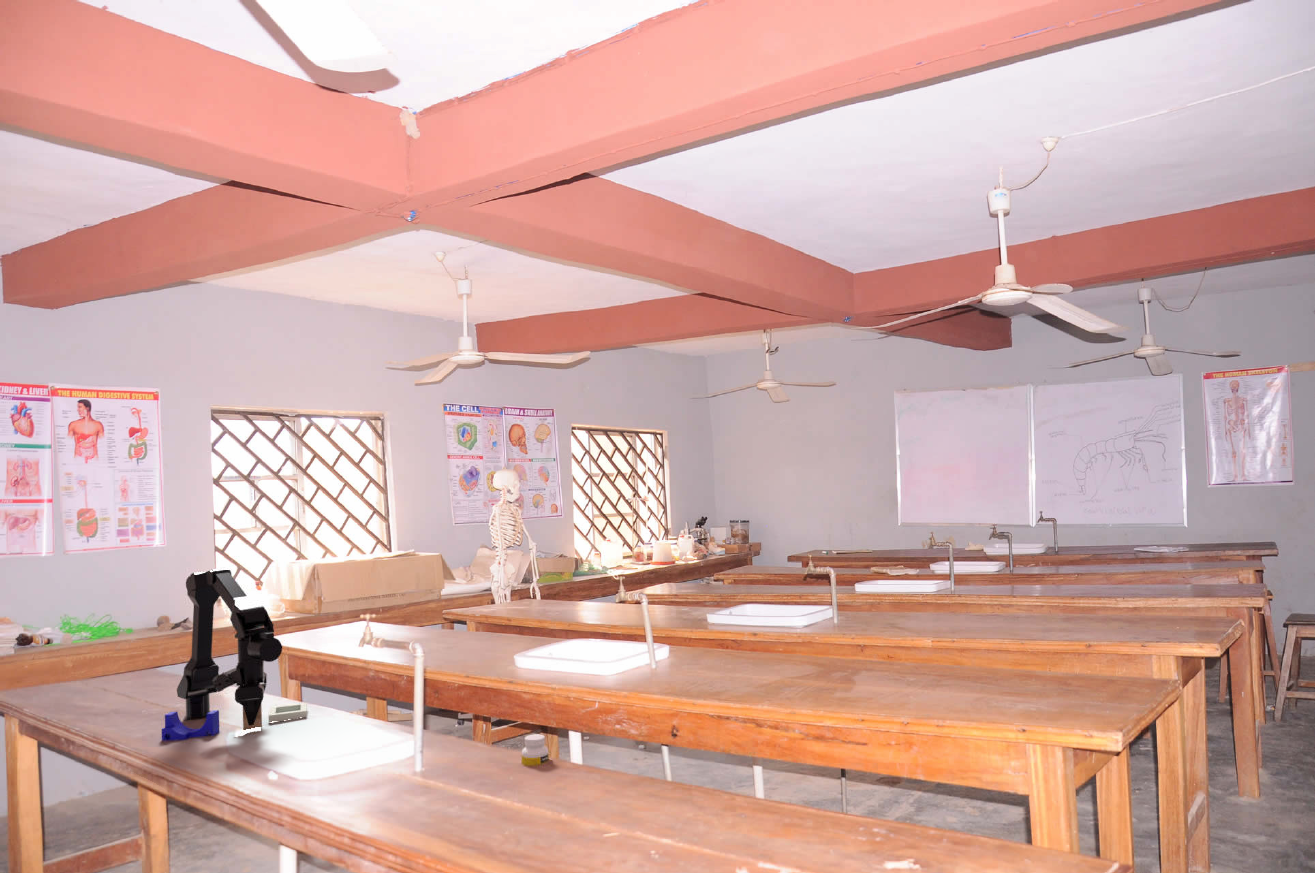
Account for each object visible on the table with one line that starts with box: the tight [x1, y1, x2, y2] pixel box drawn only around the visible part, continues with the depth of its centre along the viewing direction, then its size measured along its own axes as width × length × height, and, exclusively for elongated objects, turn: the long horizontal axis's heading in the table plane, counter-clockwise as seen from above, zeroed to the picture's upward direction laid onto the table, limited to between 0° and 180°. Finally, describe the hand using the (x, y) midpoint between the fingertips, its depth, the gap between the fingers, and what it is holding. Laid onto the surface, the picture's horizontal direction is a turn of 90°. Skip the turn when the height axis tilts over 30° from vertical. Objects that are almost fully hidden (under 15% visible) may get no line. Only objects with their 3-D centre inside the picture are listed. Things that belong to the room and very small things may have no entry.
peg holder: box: [268, 702, 308, 723], centre depth 235 cm, size 9×9×3 cm
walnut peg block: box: [242, 705, 263, 730], centre depth 224 cm, size 4×4×7 cm
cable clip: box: [161, 709, 220, 742], centre depth 224 cm, size 12×4×6 cm, turn 89°
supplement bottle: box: [521, 733, 550, 767], centre depth 181 cm, size 5×5×10 cm
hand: (252, 720), depth 224 cm, fingers open, 9 cm apart
